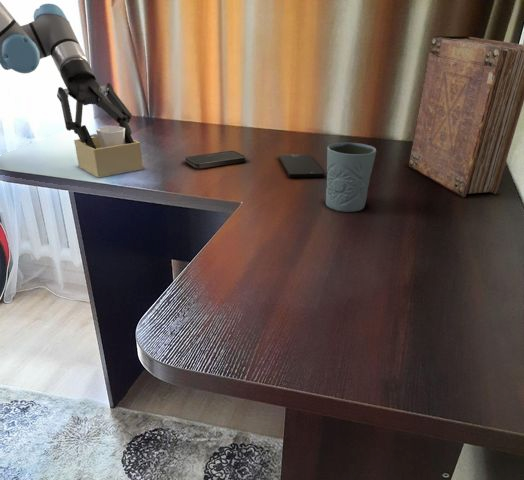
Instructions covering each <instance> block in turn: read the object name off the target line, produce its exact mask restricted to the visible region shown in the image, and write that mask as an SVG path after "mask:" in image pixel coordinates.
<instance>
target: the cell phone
mask: <svg viewBox="0 0 524 480" xmlns="http://www.w3.org/2000/svg"><path fill="white" fill-rule="evenodd" d="M278 159H279V161H280V163H281V164H282V166H283V168H284V170H285V172H286V173H287V175H288V177H289V178H292V179H293V178H294V179H295V178H324V177H325V173H324V171H323V169H322V168H321V167H320V165H319V164H318V162H316V161H315V159H314V158H313V156H312V155H311V153H310V154H309V153H298V154H297V153H295V154H293V153H291V154H278Z"/></svg>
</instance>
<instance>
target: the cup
mask: <svg viewBox="0 0 524 480" xmlns="http://www.w3.org/2000/svg"><path fill="white" fill-rule="evenodd" d="M95 130H96V131H95V132H96V133H93V134H90V136H91V138H92V137H98V138H99V141H100V144H101V148H105V147H111V146H117V145H123V144H125V128H123V127H120V126H119V125H104V126H100V127H97V128H96V129H95Z"/></svg>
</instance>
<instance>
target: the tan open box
mask: <svg viewBox="0 0 524 480" xmlns="http://www.w3.org/2000/svg"><path fill="white" fill-rule="evenodd" d="M91 138H92V140H93V142H94V144H95V147H96V149H94V148H92V147H90V146H88V145H86V143H82V142H81V140H80V138H79V139H73V142H74V148H75V152H76V158H77V163H78V167H79V168H81V169H82V170H84V171H86V172H88V173H89V174H91V175H93V176H95V177H96V178H104V177H109V176H114V175H120V174H125V173H130V172H136V171H141V170H143V169H144V165H143V164H144V163H143V157H142V147H141V142H140V141H138V140H136V139H133V141H134V143H130V144H126V142H125V144H123V145H117V146H111V147H105V148H101V144H100V141H99V138H98V137H91Z"/></svg>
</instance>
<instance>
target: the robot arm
mask: <svg viewBox="0 0 524 480" xmlns="http://www.w3.org/2000/svg"><path fill="white" fill-rule="evenodd" d="M50 56H51V59H52V60H53V62H54V65H55V66H56V68H57V71H58V73H59V75H60V77H61V79H62V82H63V84H64V85H65V87H66V88H63V87H62V86H59V87H57V88H58V89H57V93H56V97H57V98H58V100H59V102H60V105H61V110H62V114H63V119H64V124H65V129H66V131H73V132H74V134H76V135H77V137H78V138H79V139H80V140H81V142H82V143H86V145H88V146H90V147H92V148H94V149H96V147H95V144H94V142H93V140H92V137H91V136H90V135H91V134H90V132H89V130H88V128H87V126H86V124H84V125H82V120H83V119H82V118H83V107H84V106H88V105H96V106H97V107H98V108H101V109H102V110H103V111H104V112H105V113H106V114H108V115H109V116H110V117H111V118H112V119H113V120H114V121H115V122H116V123H117V124H118V126H120V127H123V128H125V142H126V144H130V143H134V141H133V140H134V139H133V137H132V133H133V132H132V129H131V126H130V124H129V123H130V122H131V119H132V116H133V115H132V113H131V112H130V110H129V108H127V106H126V105H125V104H124V103H123V101H122V100H121V98H120V97H119V96H118V94H117V93H116V92H115V90H114V88H113V85H112V83H110V82H108V83H106V85H101V84H100V83H99V82H98V80H97V78H96V75H95V73H94V71H93V69H92V67H91V65H90V63H89V61H88V59H87V57H86V54H85V52H84V51H83V49H82V46H81V45H80V43H79V40H78V38H77V36H76V34H75V32H74V29H73V28H72V26H71V23H70V21H69V20H68V18H67V17H66V13H64V10H63V9H62V8H61V7H60V6H59V5H56V4H54V3H44V4H41V5H39V8H36V9H35V10H34V12H33V21H31V22H28V23H25V24H23V25H21V24H20V23H18V22H17V20H16V19H15V17H14V16H13V15H12V14H11V13H10V11H9V10H8V9H7V8H6V6H4V4H3V3H2V2H1V1H0V66H1V68H2V69H3V70H6V71H8V70H9V71H10V70H12V71H14V72H17V73H20V74H31V73H32V72H34V71H36V70H37V68H38V67H39V64H40V61H41V59H44V58H47V57H50ZM69 97H71V98H72V99H73V100H75V101H76V103H75V116H74V117H75V118H74V121H73V116H72V110H71V105H70V101H69Z"/></svg>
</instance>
